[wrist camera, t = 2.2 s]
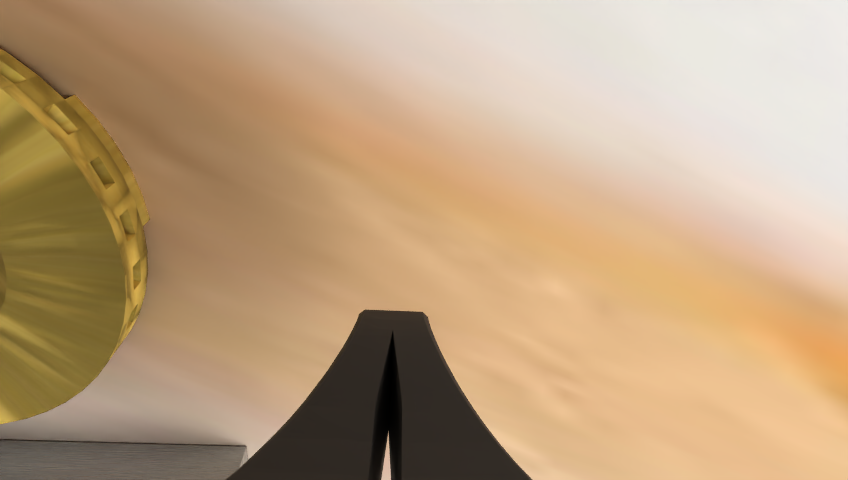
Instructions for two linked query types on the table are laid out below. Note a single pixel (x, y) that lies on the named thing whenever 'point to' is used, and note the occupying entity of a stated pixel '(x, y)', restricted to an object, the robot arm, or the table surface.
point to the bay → (117, 461)
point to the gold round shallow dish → (61, 245)
